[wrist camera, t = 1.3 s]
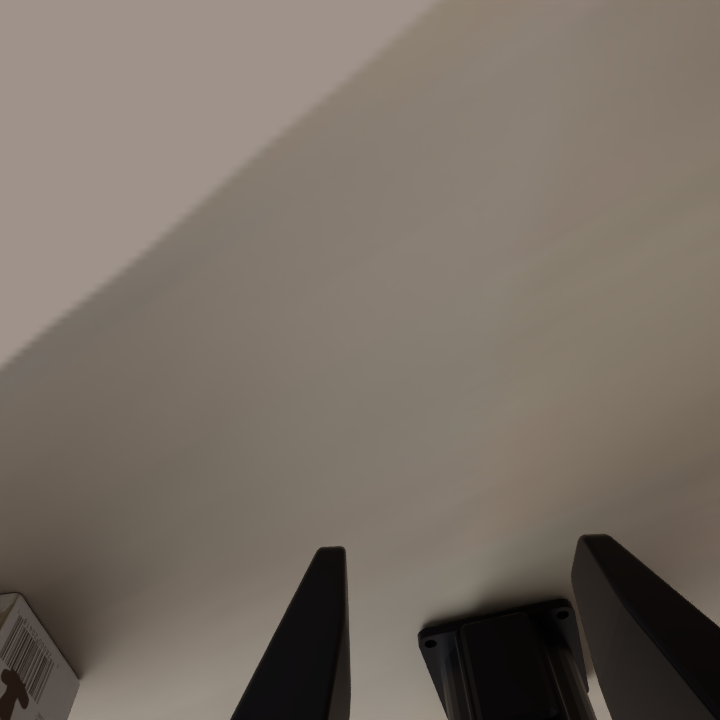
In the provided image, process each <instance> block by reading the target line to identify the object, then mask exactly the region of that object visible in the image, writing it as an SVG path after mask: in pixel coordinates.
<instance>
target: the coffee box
mask: <svg viewBox="0 0 720 720" xmlns="http://www.w3.org/2000/svg"><path fill="white" fill-rule="evenodd" d="M79 686H80V683H79V680H78V678H77V677H76V675H75V674H74V672H73V671H72V669H71V668H70V666H69V665H68V663H67V662H66V660H65V659H64V657H63V656H62V654H61V653H60V651H59V650H58V648H57V647H56V645H55V644H54V642H53V641H52V640H51V638H50V637H49V635H48V634H47V632H46V631H45V629H44V628H43V626H42V625H41V623H40V622H39V621H38V619H37V618H36V616H35V615H34V614H33V612H32V611H31V609H30V607H29V606H28V604H27V603H26V601H25V600H24V598H23V597H22V596H21V595H20V594H19V593H11V594H3V595H0V720H67V719H68V716H69V714H70V711H71V708H72V705H73V702H74V700H75V697H76V694H77V692H78V689H79Z"/></svg>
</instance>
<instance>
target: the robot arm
mask: <svg viewBox="0 0 720 720" xmlns="http://www.w3.org/2000/svg"><path fill="white" fill-rule="evenodd" d="M571 579H572V586H573V590H574V594H575V598H576V601H577V605H578V609H579V613H580V616H581V620H582V624H583V627H584V631H585V635H586V639H587V642H588V646H589V650H590V653H591V657H592V661H593V665H594V668H595V672H596V675H597V679H598V682H599V685H600V688H601V691H602V694H603V697H604V699H605V702H606V705H607V707H608V710H609V712H610V715H611V718H612V720H720V627H719V626H718V625H716V624H715V623H714V622H713V621H712V620H710V619H709V618H708V617H707V616H706V615H704V614H703V613H702V612H701V611H700V610H698V609H697V608H696V607H695V606H694V605H692V604H691V603H690V602H689V601H688V600H686V599H685V598H684V597H683V596H682V595H680V594H679V593H678V592H677V591H676V590H674V589H673V588H672V587H671V586H670V585H668V584H667V583H666V582H665V581H664V580H662V579H661V578H660V577H659V576H658V575H656V574H655V573H654V572H653V571H652V570H650V569H649V568H648V567H647V566H646V565H644V564H643V563H642V562H641V561H640V560H638V559H637V558H636V557H635V556H634V555H632V554H631V553H630V552H629V551H628V550H626V549H625V548H624V547H623V546H622V545H620V544H619V543H618V542H617V541H616V540H614V539H613V538H612V537H611V536H609V535H606V534H589V535H582V536H581V537H580V538H579V540H578V542H577V547H576V552H575V557H574V562H573V566H572V572H571ZM418 643H419V648H420V650H421V653H422V655H423V658H424V660H425V663H426V665H427V668H428V670H429V673H430V675H431V678H432V680H433V683H434V685H435V688H436V690H437V693H438V696H439V698H440V701H441V703H442V706H443V708H444V711H445V713H446V716H447V718H448V720H597V719H596V716H595V713H594V711H593V708H592V705H591V702H590V700H589V697H588V694H587V693H588V692H589V687H588V682H587V677H586V671H585V666H584V660H583V655H582V649H581V644H580V638H579V633H578V627H577V622H576V616H575V612H574V609H573V607H572V604H571V602H570V601H569V600H567V599H556V600H551V601H547V602H542V603H538V604H533V605H529V606H524V607H520V608H515V609H511V610H506V611H502V612H497V613H493V614H488V615H484V616H479V617H475V618H470V619H466V620H461V621H457V622H452V623H448V624H443V625H438V626H434V627H429V628H426V629H423V630H421V631H420V632H419V633H418ZM350 701H351V674H350V640H349V607H348V581H347V563H346V550H345V548H344V547H342V546H335V547H321V548H319V549H318V550H317V552H316V554H315V555H314V557H313V559H312V561H311V563H310V565H309V567H308V569H307V571H306V573H305V575H304V577H303V579H302V581H301V583H300V585H299V587H298V589H297V591H296V592H295V594H294V596H293V598H292V600H291V602H290V604H289V606H288V608H287V610H286V612H285V614H284V616H283V618H282V620H281V622H280V624H279V626H278V628H277V629H276V631H275V633H274V635H273V637H272V639H271V641H270V643H269V645H268V647H267V649H266V651H265V653H264V655H263V657H262V659H261V661H260V663H259V665H258V667H257V668H256V670H255V672H254V674H253V676H252V678H251V680H250V682H249V684H248V686H247V688H246V690H245V692H244V694H243V696H242V698H241V700H240V702H239V704H238V705H237V707H236V709H235V711H234V713H233V715H232V717H231V719H230V720H349V717H350Z"/></svg>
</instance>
